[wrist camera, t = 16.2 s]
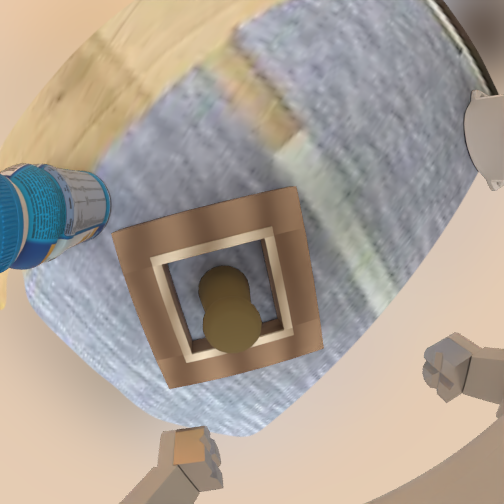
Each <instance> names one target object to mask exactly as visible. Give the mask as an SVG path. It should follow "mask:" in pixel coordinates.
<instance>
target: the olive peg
mask: <svg viewBox="0 0 504 504" xmlns="http://www.w3.org/2000/svg"><path fill="white" fill-rule="evenodd" d="M198 294H199V297H200V300H201V303H202V305H203V308H204V311H205V315H204V318H203V332H204V334H205V337H206V339H207V341H208V342H209V343H210V344H211V345H212V347H214V348H215V349H217V350H219V351H221V352H225V353H239V352H243V351H245V350H247V349H248V348H250V347H252V346H253V345H254V343H255V342H256V341H257V340H258V338H259V336H260V334H261V325H262V321H261V318H260V314H259V312H258V311H257V309H256V308H255V306H254V305H253V304H251V300H250V289H249V284H248V280H247V279H246V277H245V276H244V274H243V273H242V272H241V271H239V270H238V269H236V268H233V267H231V266H218V267H215V268H212V269H211V270H209V271H208V272H206V273H205V275H204V276H203V277H202V278H201V281H200V283H199V290H198Z"/></svg>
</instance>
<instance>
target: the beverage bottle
mask: <svg viewBox="0 0 504 504" xmlns="http://www.w3.org/2000/svg"><path fill="white" fill-rule="evenodd" d="M109 214H110V197H109V193H108V190H107V188H106V186H105V184H104V183H103V182H102V181H101V179H100V178H98V177H97V176H96V175H94V174H92V173H90V172H86V171H74V170H68V169H61V168H56V167H53V166H51V165H47V164H33V165H32V164H17V165H13V166H11V167H8V168H6V169H5V170H3V171H1V172H0V273H1V272H3V271H5V270H7V269H8V268H12V269H21V270H22V269H30V268H34V267H36V266H38V265H40V264H41V263H45V262H48V261H51V260H53V259H55V258H57V257H58V256H60V255H61V254H62V253H63V252H64V251H65V250H67V249H69V248H71V247H73V246H75V245H77V244H79V243H81V242H85V241H88V240H90V239H92V238H94V237H95V236H97V235H98V234H99V233H100V232H101V231H102V230H103V228H104V227H105V225H106V223H107V221H108V218H109Z"/></svg>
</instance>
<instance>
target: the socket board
mask: <svg viewBox="0 0 504 504" xmlns="http://www.w3.org/2000/svg"><path fill="white" fill-rule="evenodd" d="M111 235H112V238H113V242H114V245H115V249H116V252H117V255H118V259H119V262H120V265H121V268H122V271H123V274H124V277H125V280H126V283H127V286H128V289H129V292H130V295H131V298H132V301H133V303H134V306H135V309H136V312H137V314H138V317H139V319H140V322H141V325H142V327H143V330H144V332H145V335H146V337H147V340H148V342H149V344H150V347H151V349H152V352H153V354H154V356H155V358H156V361H157V363H158V365H159V367H160V370H161V372H162V374H163V376H164V378H165V381H166V383H167V385H168V387H169V389H172V388H177V387H182V386H187V385H192V384H197V383H202V382H206V381H211V380H215V379H220V378H224V377H228V376H232V375H236V374H240V373H244V372H248V371H251V370H255V369H259V368H262V367H266V366H269V365H273V364H276V363H280V362H283V361H286V360H290V359H293V358H296V357H299V356H302V355H305V354H308V353H311V352H314V351H317V350H320V349H323V348H324V347H323V339H322V332H321V325H320V318H319V311H318V304H317V298H316V291H315V285H314V279H313V273H312V267H311V261H310V255H309V250H308V244H307V238H306V233H305V228H304V223H303V217H302V212H301V207H300V202H299V197H298V192H297V188H296V186H293V187H285V188H280V189H275V190H271V191H266V192H262V193H257V194H253V195H248V196H244V197H240V198H236V199H231V200H227V201H223V202H219V203H215V204H211V205H207V206H203V207H199V208H195V209H191V210H188V211H184V212H180V213H176V214H173V215H169V216H165V217H162V218H158V219H154V220H151V221H147V222H144V223H140V224H137V225H133V226H130V227H127V228H123V229H120V230H118V231H115V232H113V233H111ZM259 239H260V240H261V245H262V249H263V254H264V258H265V263H266V267H267V272H268V276H269V281H270V286H271V290H272V295H273V299H274V304H275V309H276V313H277V318H278V319H275V320H271V321H268V322H264V323H262V325H261V334H260V336H259V338H258V340H257V341H256V342H255V343H254V345H253V346H252V347H250V348H248V349H247V350H245V351H243V352H239V353H225V352H221V351H219V350H217V349H215V348H214V347H212V345H211V344H210V343H209V342H208V341H207V339H206V338H203V339H198V340H194V341H192V338H191V335H190V332H189V329H188V326H187V323H186V321H185V318H184V315H183V312H182V309H181V306H180V303H179V300H178V296H177V293H176V290H175V287H174V284H173V281H172V277H171V274H170V271H169V267H168V264H167V263H170V262H174V261H177V260H181V259H185V258H189V257H193V256H197V255H201V254H204V253H208V252H212V251H216V250H220V249H224V248H228V247H232V246H236V245H240V244H244V243H248V242H251V241H255V240H259Z"/></svg>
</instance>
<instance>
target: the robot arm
mask: <svg viewBox="0 0 504 504" xmlns="http://www.w3.org/2000/svg"><path fill="white" fill-rule="evenodd" d="M464 127H465V137H466V142H467V146H468V150H469V153H470V156H471V158H472V161H473V163H474V165H475V166H476V168H477V170H478V171H479V172H480V173H481V174H482V175H483V176H484V178H485V179H486V181H487V183H488V185H489V187H490V189H491V190H492V191H495V190H498V189H499V188H501V187H502V186H503V185H504V94H503V95H495V96H488V95H487V94H485V93H483V92H481V91H479V90H473V91H472V95H471V102H470V104H469V106H468V108H467V110H466V113H465V121H464ZM424 358H425V359H426V362H425V364H424V366H423V377H424V380H425V382H426V383H427V385H429V386H430V387H431V388H436V389H437V394H438V395H439V396H440V397H441V398H442V399H443V400H444V401H445V402H446V403H447V402H449V401H451V400H452V399H453V398H455V397H457V396H458V395H460V394H461V393H463V394H465V395H468V396H471V397H475V398H478V399H482V400H485V401H489V402H493V403H496V404H500V406H499V409H498V411H497V414H496V417H497V418H498V420H496V421H495V422H494V423H493V424H492V425H491V426H489V428H487V429H486V430H485V431H483V432H482V433H481V434H480V435H479V436H477V437H476V438H475V439H473V440H472V441H471V442H470V443H468V444H467V445H466V446H464V447H463V448H462V449H460V450H459V451H457V452H456V453H454V454H453V455H452V456H450V457H449V458H447V459H446V460H444V461H443V462H441V463H440V464H438V465H437V466H435V467H433V468H432V469H430V470H429V471H427V472H425V473H424V474H422V475H420V476H419V477H417V478H415V479H413V480H412V481H410V482H408V483H406V484H404V485H402V486H401V487H399V488H397V489H395V490H393V491H391V492H389V493H387V494H385V495H382V496H380V497H378V498H376V499H374V500H372V501H370V502H367V503H365V504H504V349H499V348H488V347H484V348H483V349H482V348H481V347H479V346H477V345H476V344H474V343H473V342H471V341H470V340H468V339H467V338H465V337H464V336H462V335H461V334H459V333H456V332H454V333H453V334H451V335H449V336H448V337H446V338H445V339H443V340H441V341H439V342H437V343H436V344H434V345H432V346H430V347H429V348H427V349H426V351H425V353H424ZM220 464H221V459H220V454H219V450H218V447H217V445H216V443H215V441H214V440H213V439H211V438H210V431H209V430H208V428H207V426H200V427H193V428H186V429H179V430H171V431H163V433H162V434H161V439H160V448H159V456H158V465H157V467H153V468H152V469H151V470H150V471H149V473H148V474H147V475H146V476H145V477H144V478H143V479H142V480H141V481H140V482H139V483H138V484H137V485H136V487H135V488H134V489H133V490H132V491H131V492H130V493H129V494H128V495H127V496H126V497H125V498H124V499H123V500H122V501H121V502H120V503H119V504H194V502H195V500H196V499H197V497H198V495H199V492H202V491H209V490H216V489H221V488H223V478H222V473H221V471H220V469H219V468H218V467H219V466H220Z"/></svg>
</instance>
